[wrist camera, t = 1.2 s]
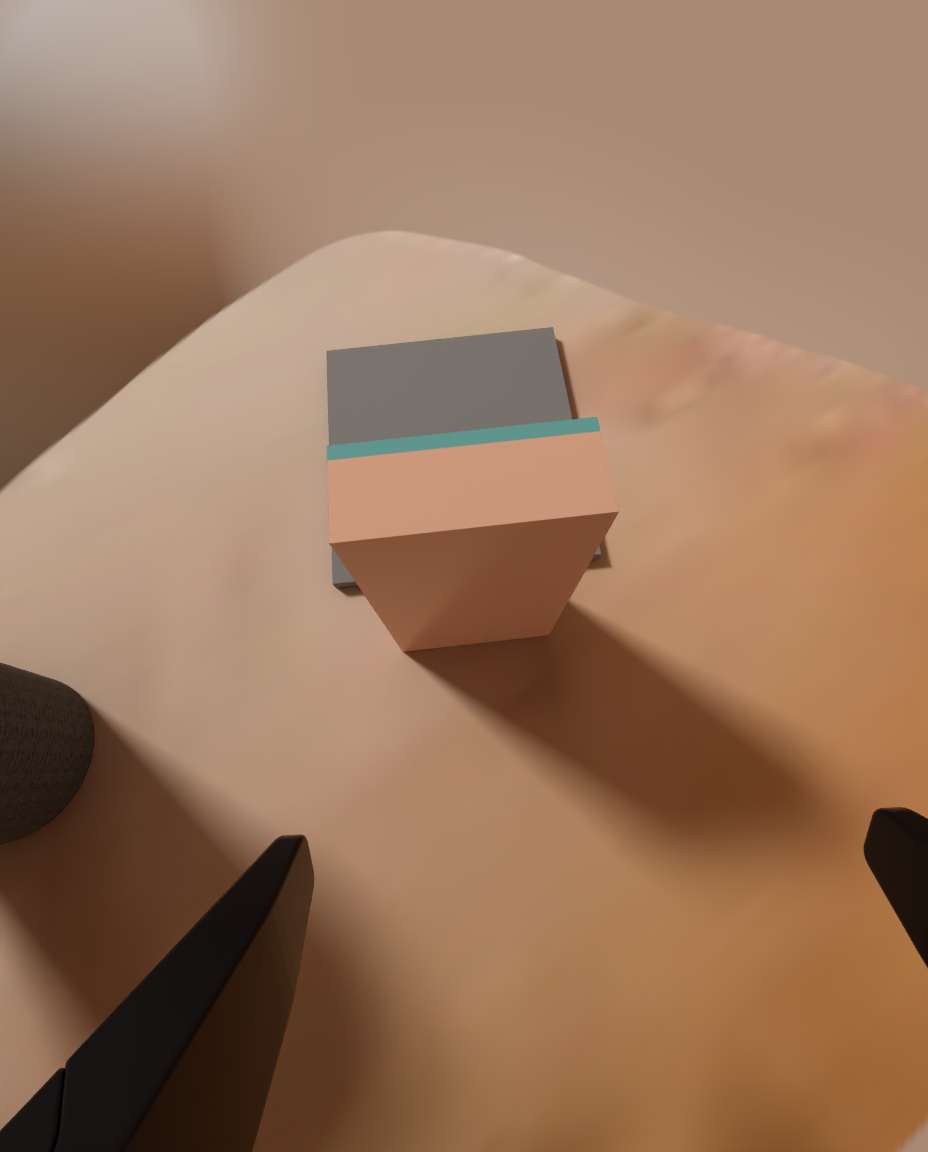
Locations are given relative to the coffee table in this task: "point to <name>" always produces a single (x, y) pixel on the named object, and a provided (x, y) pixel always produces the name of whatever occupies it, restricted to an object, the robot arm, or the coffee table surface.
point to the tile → (471, 527)
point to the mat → (443, 391)
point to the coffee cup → (39, 749)
